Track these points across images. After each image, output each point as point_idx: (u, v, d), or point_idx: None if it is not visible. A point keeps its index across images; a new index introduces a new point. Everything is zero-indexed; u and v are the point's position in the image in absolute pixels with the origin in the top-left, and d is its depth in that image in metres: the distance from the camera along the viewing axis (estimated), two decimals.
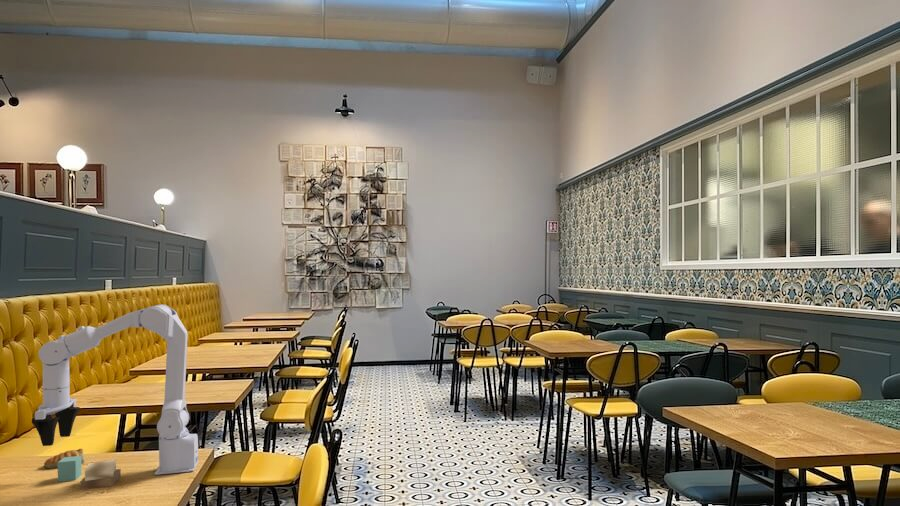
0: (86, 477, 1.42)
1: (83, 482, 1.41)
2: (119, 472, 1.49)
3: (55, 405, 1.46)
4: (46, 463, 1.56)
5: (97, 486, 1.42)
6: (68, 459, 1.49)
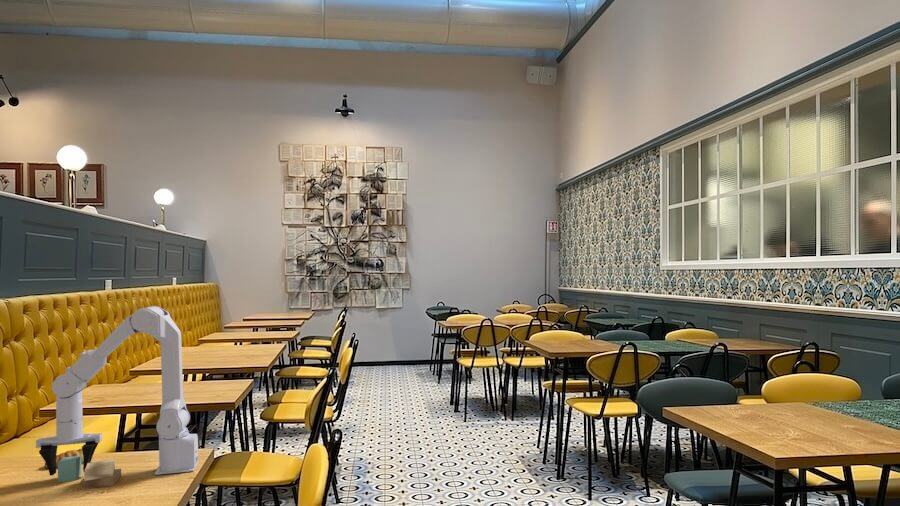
0: (85, 477, 1.42)
1: (84, 482, 1.42)
2: (120, 472, 1.49)
3: (56, 437, 1.47)
4: None
5: (98, 486, 1.42)
6: (68, 459, 1.49)
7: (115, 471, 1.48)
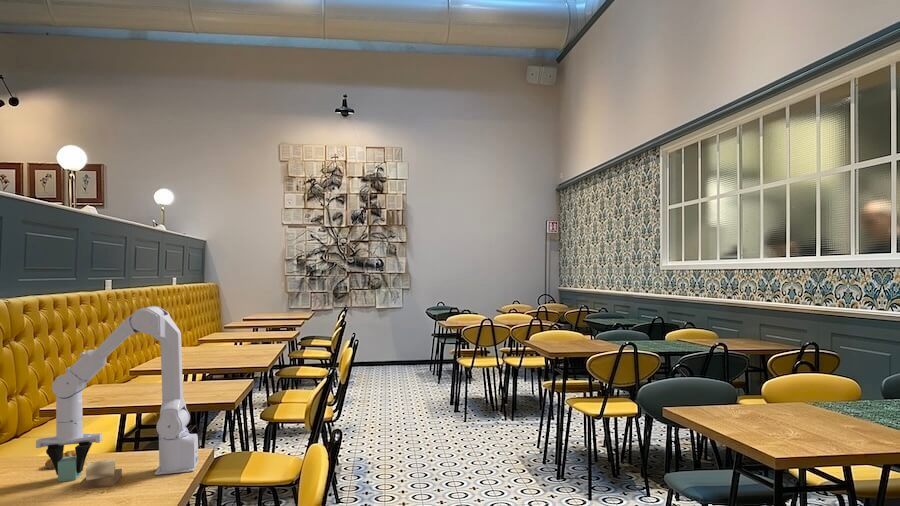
0: (87, 476, 1.42)
1: (84, 482, 1.42)
2: (120, 472, 1.49)
3: (56, 437, 1.47)
4: (47, 463, 1.56)
5: (98, 486, 1.42)
6: (68, 459, 1.49)
7: (116, 471, 1.48)
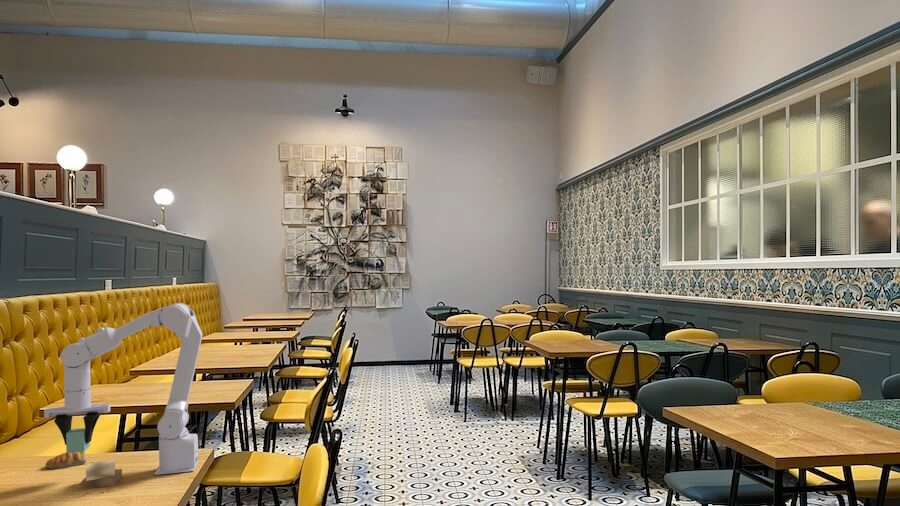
0: (87, 477, 1.42)
1: (85, 482, 1.42)
2: (120, 472, 1.49)
3: (64, 407, 1.47)
4: (48, 464, 1.56)
5: (98, 486, 1.42)
6: (76, 430, 1.48)
7: (116, 471, 1.48)
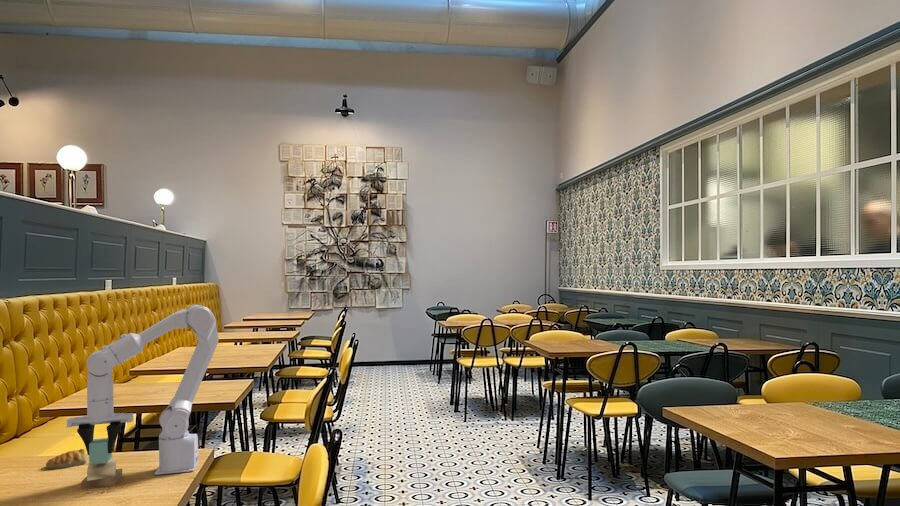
0: (88, 477, 1.42)
1: (85, 482, 1.42)
2: (121, 472, 1.49)
3: (87, 416, 1.44)
4: (48, 464, 1.56)
5: (99, 486, 1.42)
6: (99, 441, 1.45)
7: (116, 471, 1.48)
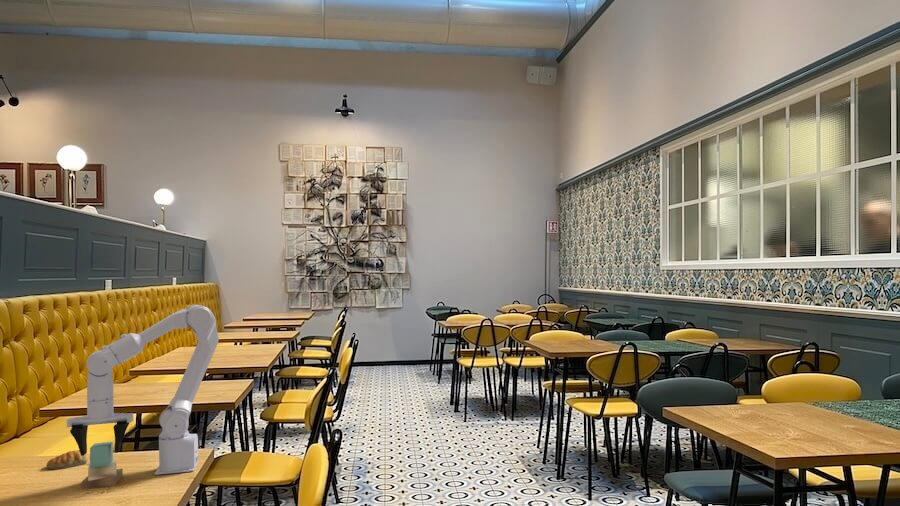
0: (89, 477, 1.42)
1: (85, 482, 1.42)
2: (121, 472, 1.49)
3: (87, 416, 1.44)
4: (49, 464, 1.56)
5: (99, 486, 1.42)
6: (100, 445, 1.46)
7: (116, 471, 1.48)
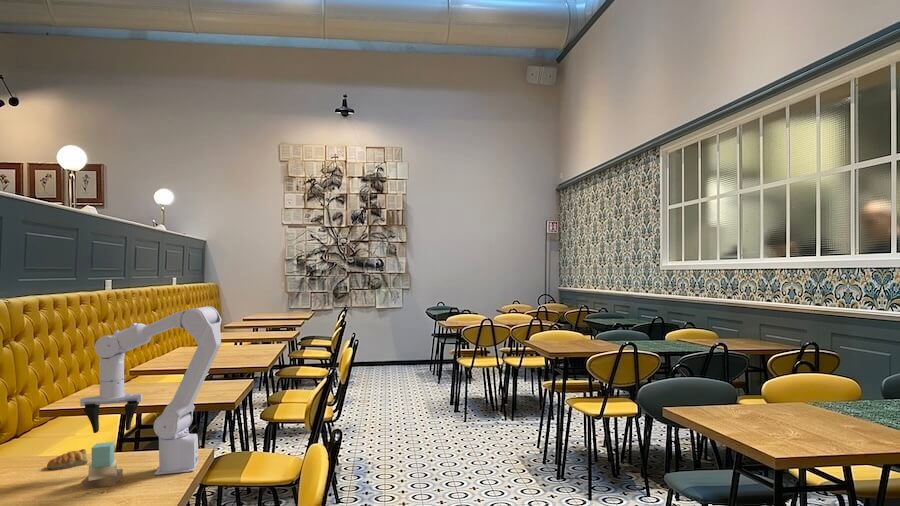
0: (90, 477, 1.42)
1: (85, 482, 1.42)
2: (121, 472, 1.49)
3: (99, 396, 1.53)
4: (49, 464, 1.56)
5: (99, 486, 1.42)
6: (101, 445, 1.45)
7: None
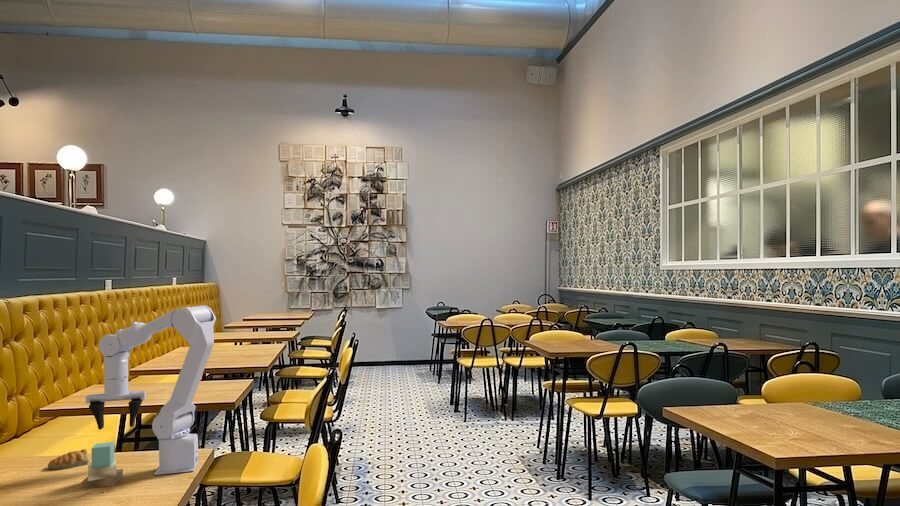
0: (89, 477, 1.42)
1: (85, 482, 1.42)
2: (121, 472, 1.49)
3: (104, 393, 1.57)
4: (50, 464, 1.55)
5: (99, 486, 1.42)
6: (101, 445, 1.46)
7: (116, 471, 1.48)
